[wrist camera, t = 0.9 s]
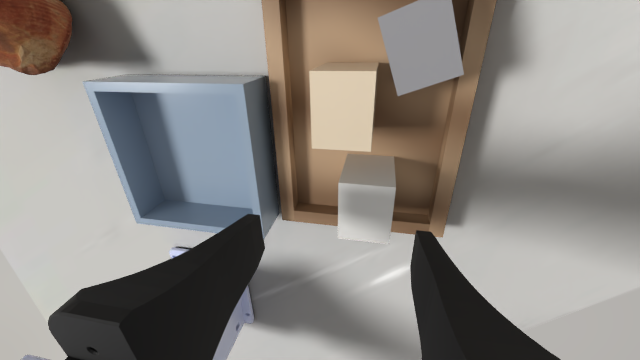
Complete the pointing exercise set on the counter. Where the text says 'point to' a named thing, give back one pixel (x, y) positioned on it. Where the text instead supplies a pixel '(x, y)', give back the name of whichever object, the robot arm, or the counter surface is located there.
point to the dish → (190, 147)
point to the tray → (390, 110)
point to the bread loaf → (33, 34)
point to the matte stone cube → (421, 44)
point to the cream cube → (343, 105)
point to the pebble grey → (366, 198)
